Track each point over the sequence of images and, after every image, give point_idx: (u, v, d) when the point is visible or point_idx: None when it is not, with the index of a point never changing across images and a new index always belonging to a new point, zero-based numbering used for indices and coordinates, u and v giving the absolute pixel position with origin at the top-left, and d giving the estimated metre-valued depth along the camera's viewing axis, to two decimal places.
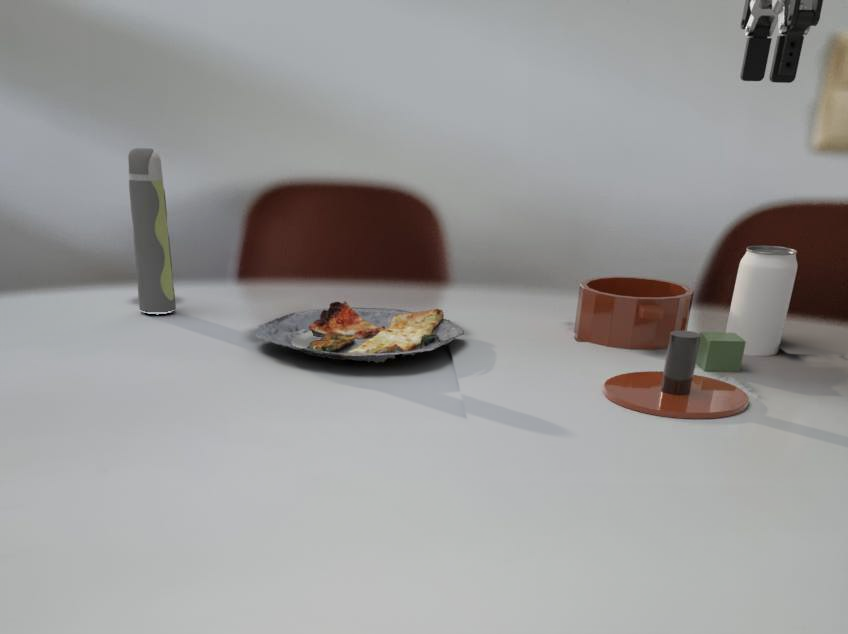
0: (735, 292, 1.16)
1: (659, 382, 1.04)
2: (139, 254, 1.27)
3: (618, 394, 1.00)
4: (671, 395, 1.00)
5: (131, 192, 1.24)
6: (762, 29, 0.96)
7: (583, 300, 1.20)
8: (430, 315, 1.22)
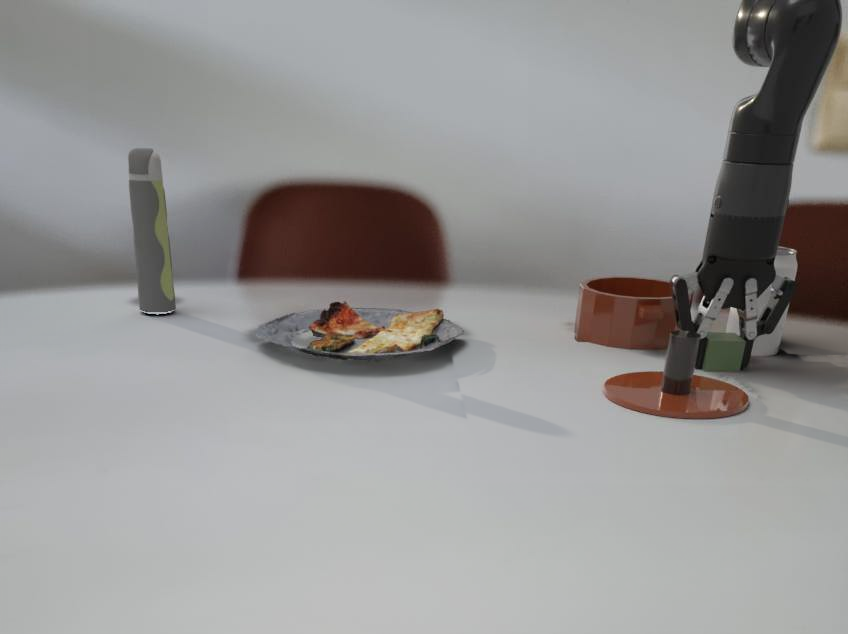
0: None
1: (659, 382, 1.04)
2: (139, 254, 1.27)
3: (618, 394, 1.00)
4: (671, 395, 1.00)
5: (131, 192, 1.24)
6: None
7: (583, 300, 1.20)
8: (430, 315, 1.22)
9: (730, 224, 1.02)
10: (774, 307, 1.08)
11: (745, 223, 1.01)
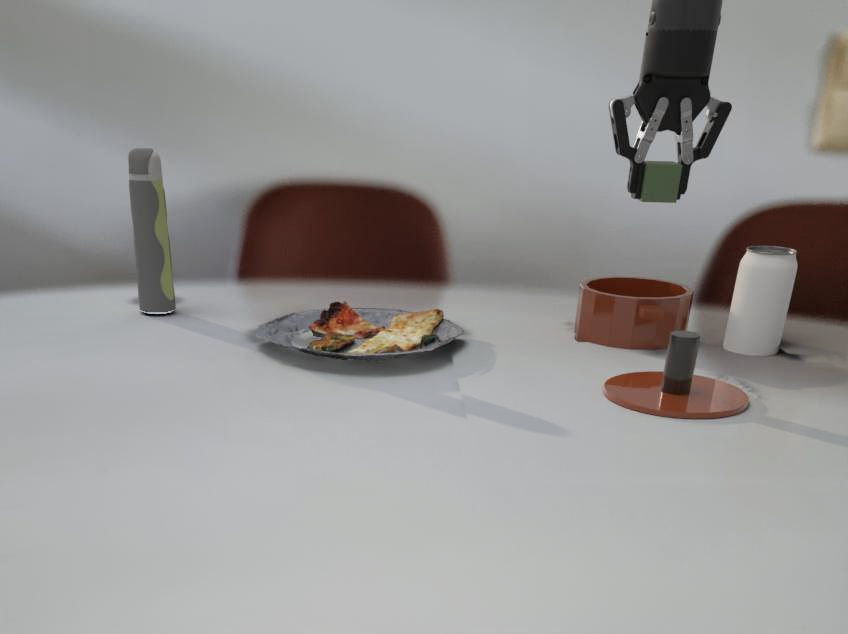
0: (735, 292, 1.16)
1: (659, 382, 1.04)
2: (139, 254, 1.27)
3: (618, 394, 1.00)
4: (671, 395, 1.00)
5: (131, 192, 1.24)
6: None
7: (583, 300, 1.20)
8: (430, 315, 1.22)
9: (663, 39, 1.04)
10: (709, 129, 1.10)
11: (677, 36, 1.03)
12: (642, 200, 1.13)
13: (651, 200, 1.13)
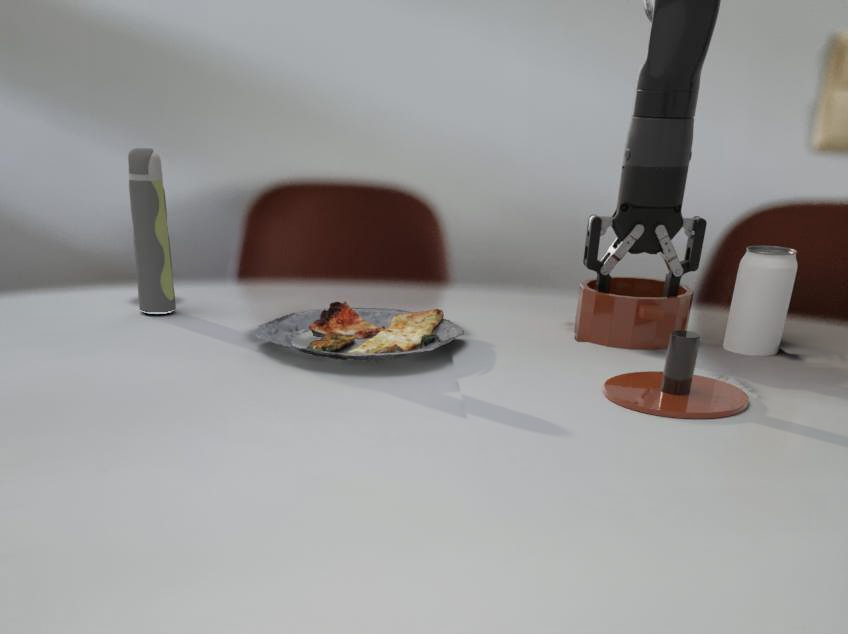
0: (735, 292, 1.16)
1: (659, 382, 1.04)
2: (139, 254, 1.27)
3: (618, 394, 1.00)
4: (671, 395, 1.00)
5: (131, 192, 1.24)
6: None
7: (583, 300, 1.20)
8: (430, 315, 1.22)
9: (638, 174, 1.12)
10: (691, 246, 1.17)
11: (651, 173, 1.11)
12: None
13: None
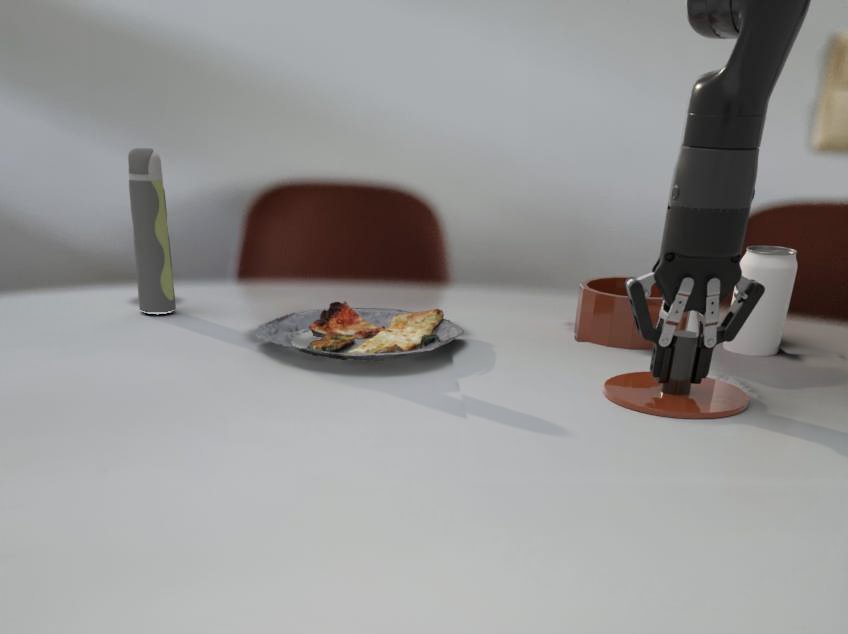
0: None
1: None
2: (139, 254, 1.27)
3: (618, 394, 1.00)
4: (671, 395, 1.00)
5: (131, 192, 1.24)
6: None
7: (583, 300, 1.20)
8: (430, 315, 1.22)
9: (688, 217, 0.90)
10: (737, 311, 0.96)
11: (705, 216, 0.89)
12: None
13: None
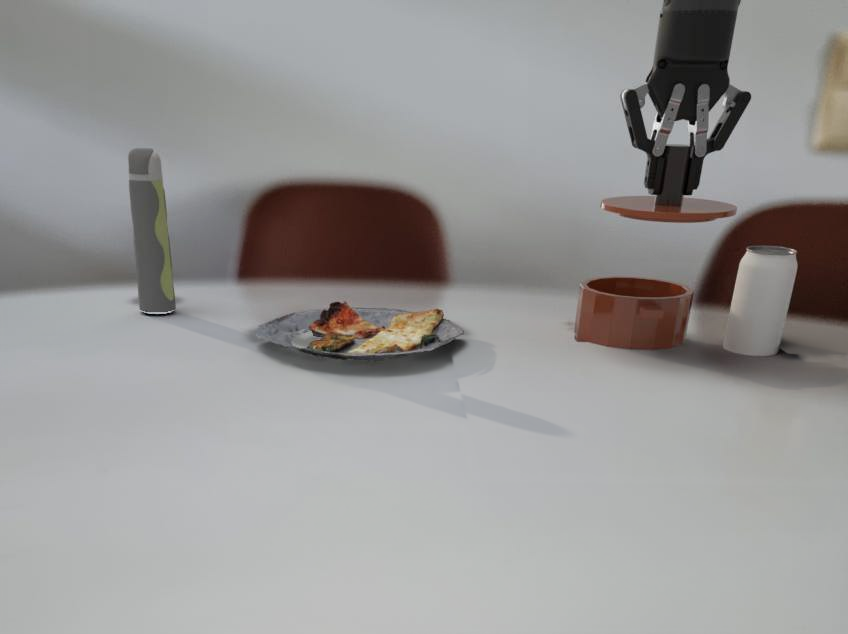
0: (735, 292, 1.16)
1: (652, 200, 1.10)
2: (139, 254, 1.27)
3: (614, 205, 1.06)
4: (665, 205, 1.06)
5: (131, 192, 1.24)
6: None
7: (583, 300, 1.20)
8: (430, 315, 1.22)
9: (679, 20, 0.96)
10: (725, 120, 1.03)
11: (695, 17, 0.96)
12: None
13: None
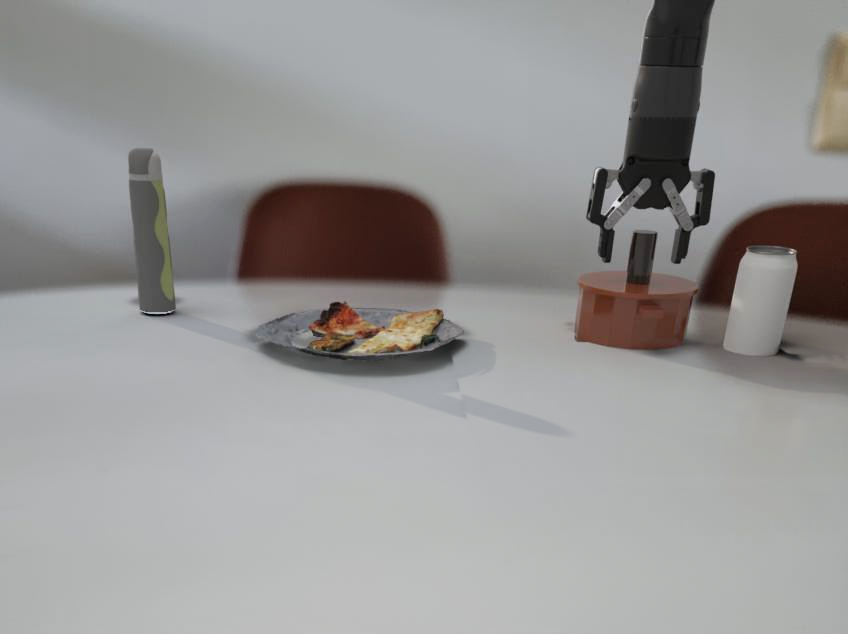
0: (735, 292, 1.16)
1: (624, 277, 1.23)
2: (139, 254, 1.27)
3: (589, 283, 1.19)
4: (634, 284, 1.19)
5: (131, 192, 1.24)
6: None
7: (583, 300, 1.20)
8: (430, 315, 1.22)
9: (645, 125, 1.09)
10: (701, 199, 1.15)
11: (658, 123, 1.08)
12: None
13: None
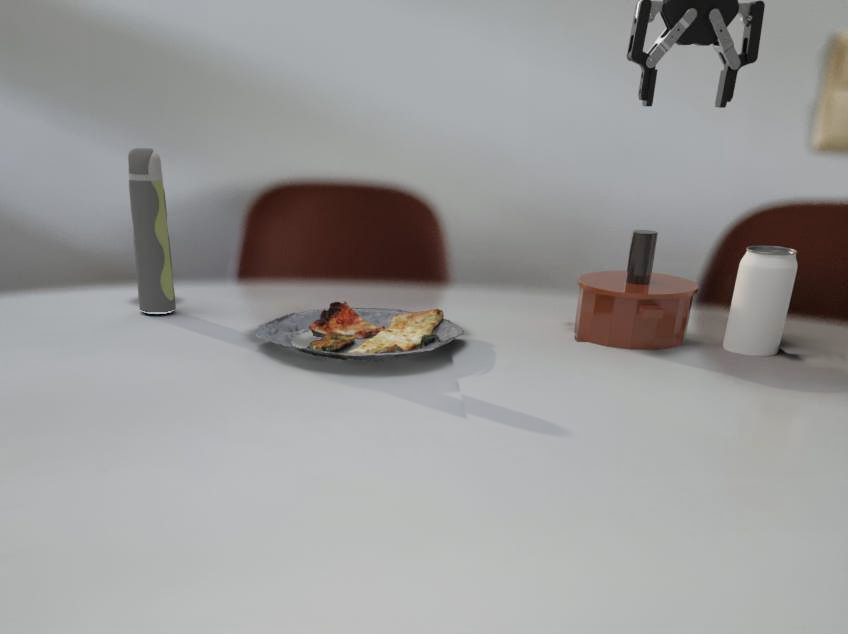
0: (735, 292, 1.16)
1: (624, 277, 1.23)
2: (139, 254, 1.27)
3: (589, 283, 1.19)
4: (634, 284, 1.19)
5: (131, 192, 1.24)
6: None
7: (583, 300, 1.20)
8: (430, 315, 1.22)
9: None
10: (749, 34, 1.09)
11: None
12: None
13: None
